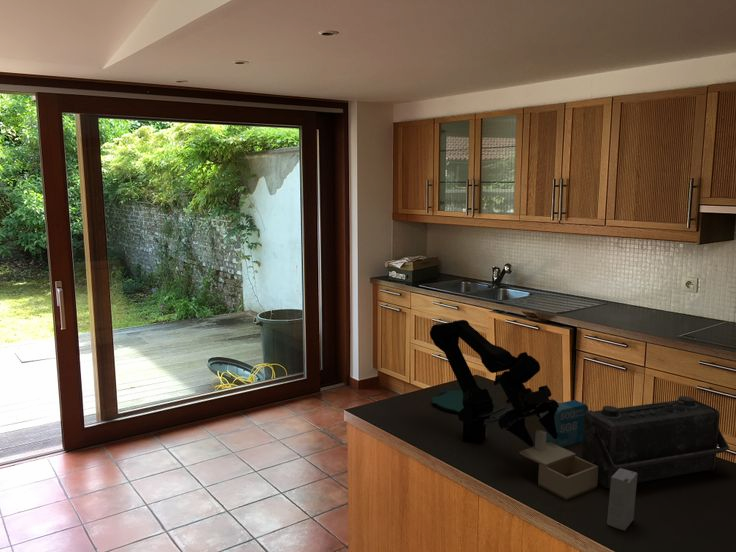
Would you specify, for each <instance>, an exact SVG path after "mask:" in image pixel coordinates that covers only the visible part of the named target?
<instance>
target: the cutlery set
mask: <svg viewBox="0 0 736 552" xmlns="http://www.w3.org/2000/svg"><path fill="white" fill-rule="evenodd" d="M462 401H463V392H462V389H461V390H456V389H455V390H448V391H444V392H441V393H437V395H435V396H432V397H431V405H432V406H434V405H436V406H437V407H438V408H440V409H442V410H445V411H447V412H452V413H458V412H460V411H461V410H462V409H463V408H464V406H463V403H462ZM503 409H506V406H504V405H503V406H502V407H500V408H498V409H493V412H492V414H491V416H490V419H493V418H492V417H496V420H490V421H489V420H488V419H486V421H487V422H490V423H491V422H493V423H495V422H496V423H495V425H496V426H499V424H497V423H498V419H499V418H500V417H501V416H502V415H504V414H505V413H506V412H507V411H511V410H514V408H513V407H511V408H508V409H507V410H505V411H502V413H500V414H499V415H494V414H496V413H497V412H500V410H503Z"/></svg>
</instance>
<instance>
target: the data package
mask: <svg viewBox="0 0 736 552" xmlns="http://www.w3.org/2000/svg"><path fill="white" fill-rule="evenodd" d="M557 404H558V405H559V407H558V408H557V412H555V416H554V421H555V426H556V431H557V436H558V438H557V439H554V438H553V437H552V436H551V435H550V434H549V433H548V431H547V430H546V432H547V436H546V442H551V443H553V444H555V445H557V446H560V447H562V448H564V447H568V446H569V447H570V446H573V445H575V444H580V443H583V427H584V415H585V413H586V412H587V411H589V406H588V405H587V404H585V403H583V402H581V401H579V400H576V399H572V400H568V401H564V402H559V403H558V402H557Z"/></svg>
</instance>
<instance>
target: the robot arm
mask: <svg viewBox="0 0 736 552" xmlns="http://www.w3.org/2000/svg"><path fill="white" fill-rule="evenodd" d="M429 335H430V338H431V340H432V342H433V343H434V345H435V346H436V348H438V349H439V350H440V351H441V352H443V353H444V355H445V357H446V360H447V361H448V363H449V365H450V367H451V370H452V372H453V374H454V377H455V378H456V380H457V383H458V385H459V387H460V389H461V390H462V392H463V401H462V403H463V406H464V408H463V409H462V410H461V411H460V412H457V416H458V421H460V422H462V437H461V441H462V442H467V443H474V444H480V445H481V444H484V442H485V441H486V438H487V437H488V436H487V433H488V428H487V427H488V424H487V423H486V421H487V419H489V420H490V419H491V418H490V417H491V416H492V415H493V414H492V412H493V411H494V407H495V406H494V402H493V401H494V400H493V398H492V396H491V395H490V393H489V390H488V389H487V388H484V389H482V388H481V387H480V386H478V384H477V381H476V379H475V377H474V376H473V375H474V374H473V373H472V371H471V369H470V367H469V365H468V363H467V361H466V359H465V356H464V355H463V352H462V350H461V348H460V346H459V343H460V342H459V341H460V339H461V340H462V341H463V342H464V343H465V344H467V345H468V346H469V347H470V348H471V349H472V350H473V351H474V352H475V353H476V354H477V355H478V356H479V357H480V360H481V363H482V365H483V366H484V367H485V369H486V370H487V371H488V372H489V373H491V374H495V373H496V374H497V373H500V372H502V373H501V374H497V375H495V379H494V381H493V385H494V386H499V385H500V386H501V388H502V390H503V392H504V394H505V395H506V397H507V399H506V400H505V402H506V403H507V405H509V404H510V405H511V407H512V408H513V410H511V411H507V412H506V413H505V414H504V415H502V416H500V417H499V419H498V418H497V422H498V427H500V430H503V429H504V430H505V431H506V432H509V433H511V434H513V435H514V436H516V437H517V438H518V439H520V440H521V441H522V442H524V443H525V444H526V445H528V446H529V448H532V447H535V442H534V441H533V438H532V437H531V435H530V432H529V431H528V429H527V427H526V419H527V418H531V417H534V416H536V417H537V418H539V419H538V422H539V423H540V424H541V425H542V427H543V428H544V429H545V430H546V432H547V431H548V433H549V434H550V435H551V436H552V437H553V438H554V439H557V438H558V436H557V431H556V426H555V421H554V416H555V412H557V408H558V407H559V405H558V402H557V400H555V399H553V398H551V399H550V397H552V392H551V389H550V388H549V386H548V385H547V384H546V385H542V386H539V387H538V390H535V391H533V390H532V389H531V387H526V385H525V384H526V383H528V382H529V381H530V380H531V379H532V378H533V377H535V376H536V375H537V374H538V373H540V370H541V365H540V363H539V361H538V360H537V359H536V358H535V357H533V356H532V355H529V354H528V352H527V351H523V352H520V353H518V355H517V357H516V356H514V355H512V352H510V351H509V350H507V349H506V348H503V347H502V346H499V345H495V344H493V343H492V342H490V341H489V340H488V339H487V338H485V337H484V336H483V335H482V334H481V333H480V332H478V330H476V329H475V328H474V327H473V326H472V325H470V323H469V321H468V320H465V319H459V320H454V321H452V322H449V321H448V322H444V323H437V324H433V325H432V326H431V328H430V330H429Z"/></svg>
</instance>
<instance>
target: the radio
mask: <svg viewBox="0 0 736 552" xmlns="http://www.w3.org/2000/svg"><path fill="white" fill-rule="evenodd" d="M720 418H721V413H720V411H719V410H718V409H717V408H714V407H713V406H710V405H707V404H705V403H702V402H701V401H698V400H696V399H695V398H693V397H691V396H684V395H683V396H682V395H681V396H678V398H677V400H670V401H662V402H656V403H655V402H654V403H648V404H639V405H633V406H632V405H631V406H626V407H625V406H624V407H615V406H611V405H605V406H603V407H602V410H592V409H591V410H588V411H587V412H586V413H585V415H584V427H583V442H582V444H581V445H582V446H581V447H582V448H581V459H583V460H585V461H587V462H590V463H592V464H594V465H596V466H598V481H597V484H599V485H600V486H602V487H603V488H606V489H609V490H610V486H611V477H612V476H613V475H614V474H615V473H616V472H617V470H618V469H619V468H621V469H625V470H629V471H633V472H636V473H637V484H638V483H644V482H649V481H655V480H660V479H661V480H662V479H664V478H665V479H666V478H671V477H677V476H682V475H688V474H693V473H699V472H700V473H701V472H705V471H707V472H712V471H713V470H715V467H716V461H717V454H721V453H724V452H725V451H728V450H729V449H730V446H729V444H728V443H727V441H726V439H725V437H724V435H723V433H722V432H721V430H720Z"/></svg>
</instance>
